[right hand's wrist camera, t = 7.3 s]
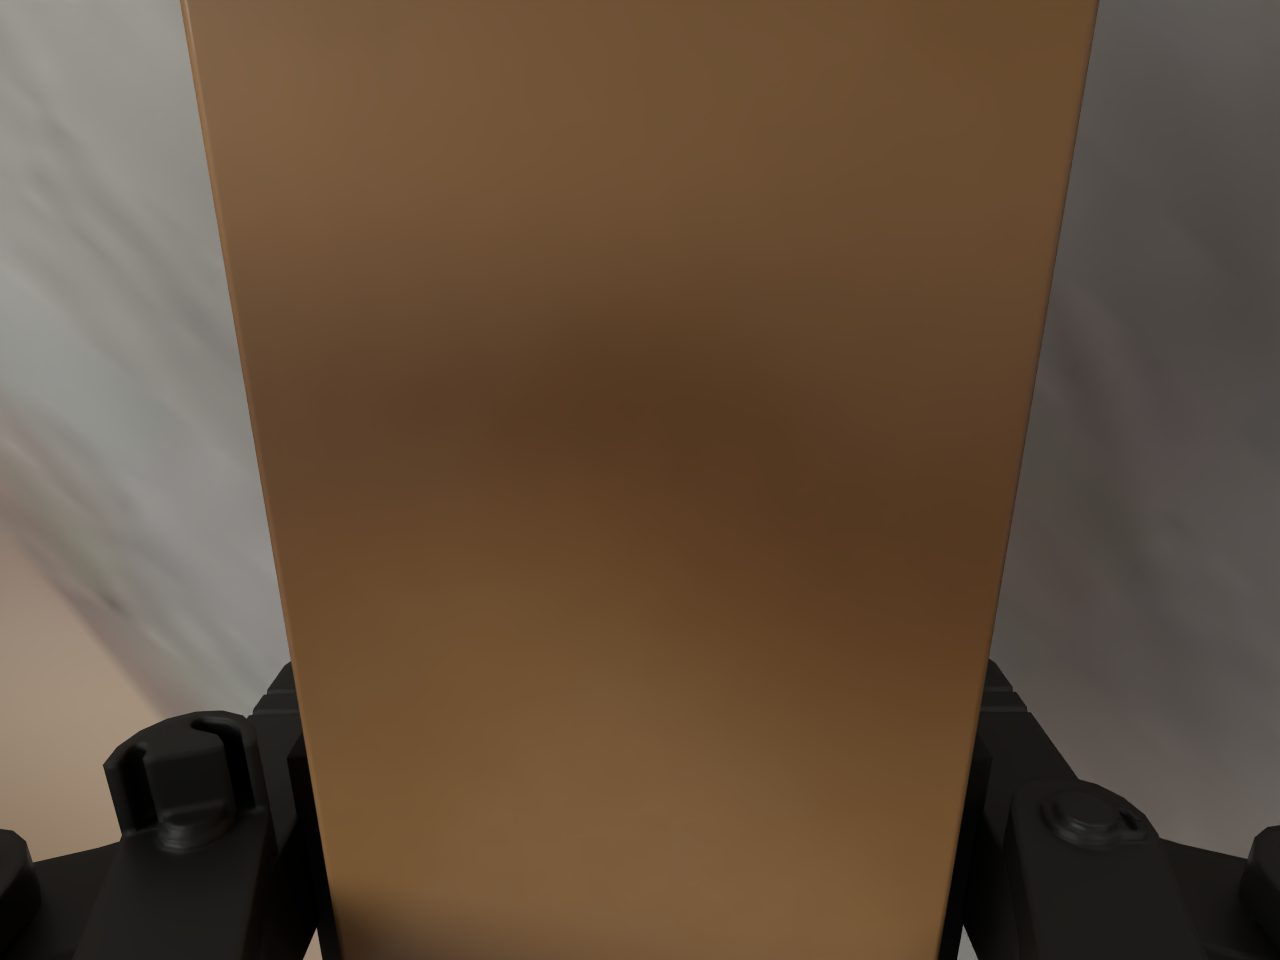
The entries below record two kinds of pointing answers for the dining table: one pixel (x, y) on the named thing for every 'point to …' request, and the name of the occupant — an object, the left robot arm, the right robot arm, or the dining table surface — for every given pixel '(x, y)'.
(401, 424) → the bar
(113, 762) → the right robot arm
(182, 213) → the dining table surface
